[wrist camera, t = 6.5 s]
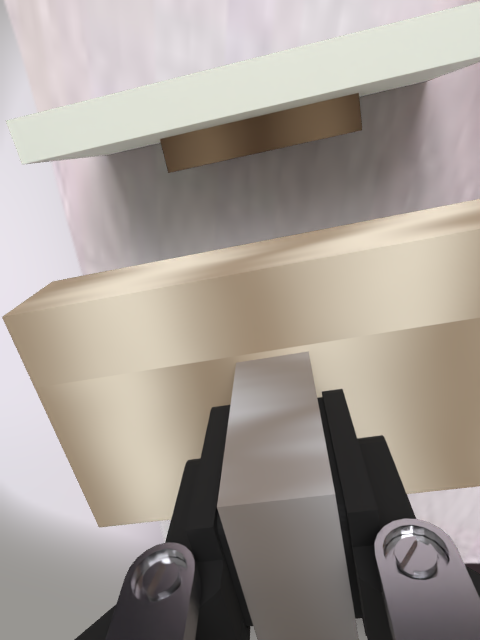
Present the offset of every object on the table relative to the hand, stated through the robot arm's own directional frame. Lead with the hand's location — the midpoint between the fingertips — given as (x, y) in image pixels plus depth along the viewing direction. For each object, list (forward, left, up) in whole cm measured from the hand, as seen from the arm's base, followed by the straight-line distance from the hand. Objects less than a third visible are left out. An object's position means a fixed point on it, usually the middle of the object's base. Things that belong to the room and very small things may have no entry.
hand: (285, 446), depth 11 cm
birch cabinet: (0, -1, -11) cm, 11 cm away
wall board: (0, -10, -25) cm, 26 cm away
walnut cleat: (0, -8, -23) cm, 24 cm away
